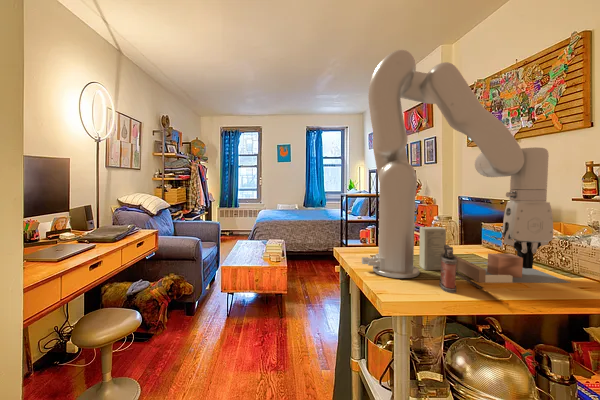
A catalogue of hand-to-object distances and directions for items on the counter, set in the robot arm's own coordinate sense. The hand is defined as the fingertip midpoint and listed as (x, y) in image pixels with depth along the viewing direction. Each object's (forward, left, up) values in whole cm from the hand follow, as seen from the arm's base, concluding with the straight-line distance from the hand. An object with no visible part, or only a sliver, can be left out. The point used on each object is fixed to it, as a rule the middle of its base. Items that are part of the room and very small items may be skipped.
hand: (524, 267), depth 77 cm
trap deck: (-4, +3, -4) cm, 6 cm away
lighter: (-22, -5, -4) cm, 23 cm away
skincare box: (-19, +11, -4) cm, 23 cm away
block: (-5, 0, -2) cm, 6 cm away
